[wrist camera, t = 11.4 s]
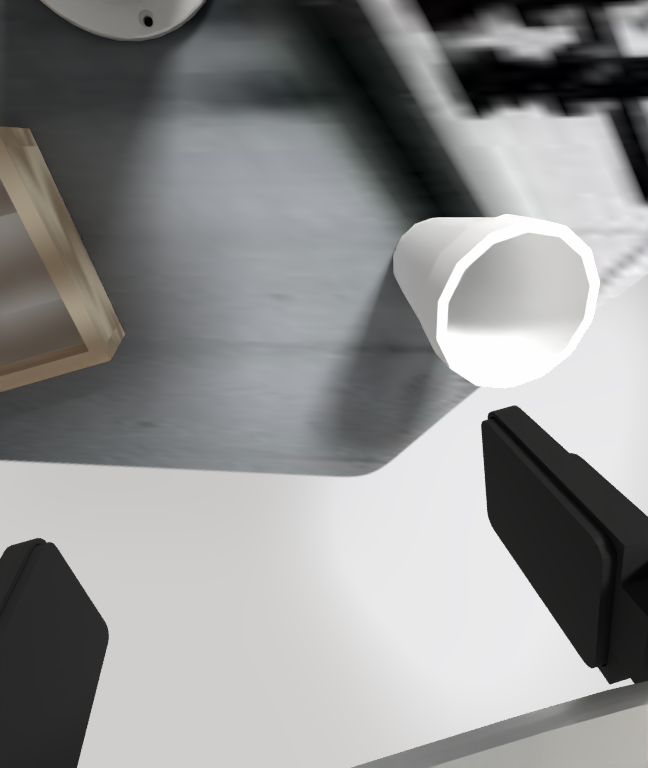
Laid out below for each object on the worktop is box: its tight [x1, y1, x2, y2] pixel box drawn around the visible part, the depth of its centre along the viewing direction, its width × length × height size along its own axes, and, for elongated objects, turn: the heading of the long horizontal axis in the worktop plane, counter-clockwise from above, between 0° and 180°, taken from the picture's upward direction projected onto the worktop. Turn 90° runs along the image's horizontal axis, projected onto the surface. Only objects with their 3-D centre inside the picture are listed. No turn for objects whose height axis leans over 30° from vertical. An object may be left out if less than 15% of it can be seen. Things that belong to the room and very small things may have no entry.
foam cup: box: [393, 214, 600, 388], centre depth 32 cm, size 10×9×13 cm
